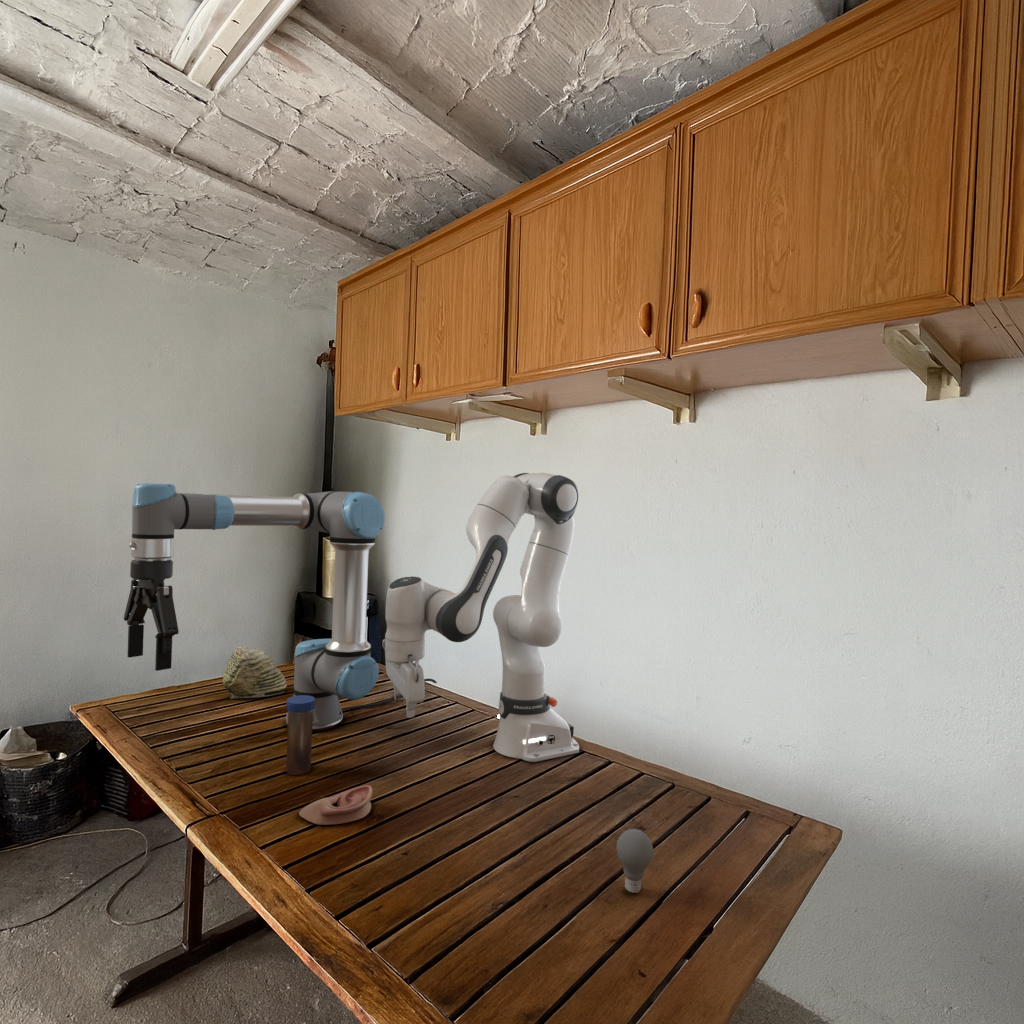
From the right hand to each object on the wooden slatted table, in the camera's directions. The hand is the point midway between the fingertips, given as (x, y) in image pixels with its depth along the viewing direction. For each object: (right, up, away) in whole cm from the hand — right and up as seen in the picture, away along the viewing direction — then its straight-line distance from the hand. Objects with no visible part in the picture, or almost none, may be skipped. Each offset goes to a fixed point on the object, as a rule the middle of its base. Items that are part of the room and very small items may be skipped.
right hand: (404, 708), depth 144 cm
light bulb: (+45, -19, -39) cm, 62 cm away
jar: (-25, -15, +2) cm, 29 cm away
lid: (-24, +1, +2) cm, 24 cm away
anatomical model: (-11, -16, -17) cm, 25 cm away
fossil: (-56, -12, +54) cm, 79 cm away
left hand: (-50, +14, -15) cm, 54 cm away
